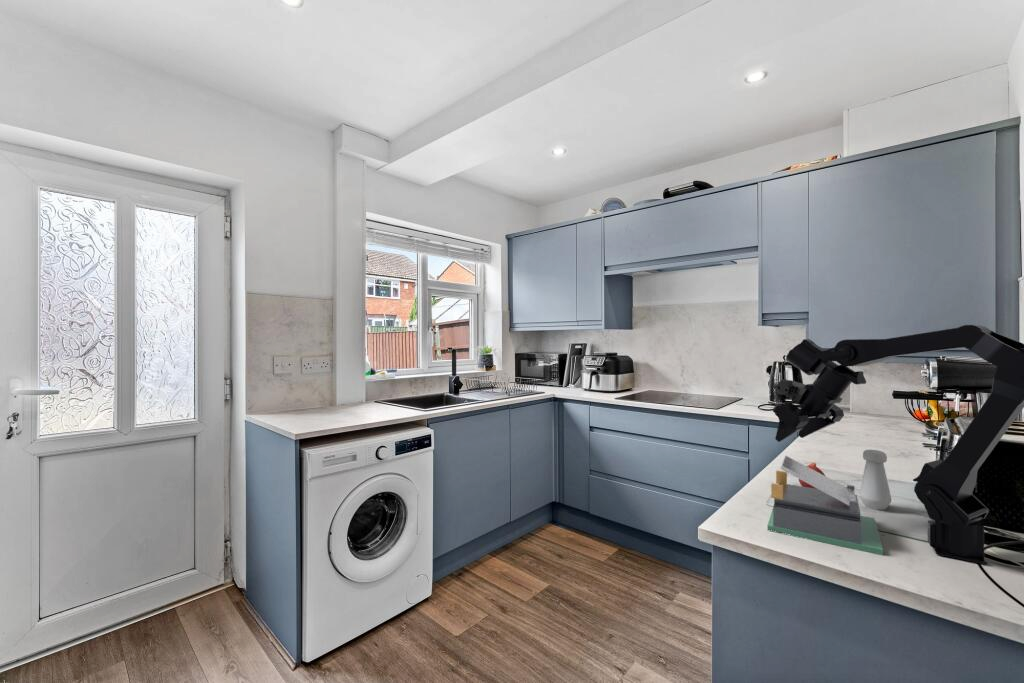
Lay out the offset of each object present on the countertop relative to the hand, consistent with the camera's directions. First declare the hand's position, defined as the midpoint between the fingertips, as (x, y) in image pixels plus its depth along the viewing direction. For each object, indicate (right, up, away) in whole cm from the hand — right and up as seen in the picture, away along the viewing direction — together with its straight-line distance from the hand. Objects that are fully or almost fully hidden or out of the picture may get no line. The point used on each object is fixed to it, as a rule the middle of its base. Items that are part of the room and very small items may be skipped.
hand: (788, 438), depth 106 cm
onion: (+8, -15, +4) cm, 18 cm away
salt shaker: (+17, -15, -5) cm, 23 cm away
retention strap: (-4, -6, -15) cm, 16 cm away
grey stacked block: (-4, -14, -14) cm, 20 cm away
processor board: (-3, -15, -15) cm, 21 cm away
